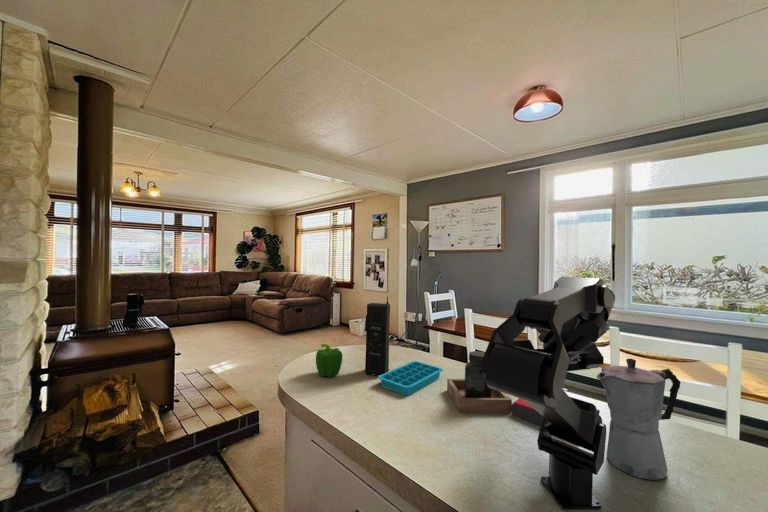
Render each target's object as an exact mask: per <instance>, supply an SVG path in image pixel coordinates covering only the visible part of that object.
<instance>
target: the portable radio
mask: <svg viewBox="0 0 768 512" xmlns="http://www.w3.org/2000/svg"><path fill="white" fill-rule="evenodd" d="M390 313H391V304H390V303H389V296H386V303H380V302H379V303H378V302H370V303H367V304H366V315H365V322H364V323H365V324H364V332H366V336H365V337H366V338H365V359H364V360H365V364H364V374H365V373H367V374H366V375H370V374H374V375H373V376H377V375H382V374H384V373H387V372H389V365H390V359H389V357H390V323H391V320H390V319H391V314H390Z"/></svg>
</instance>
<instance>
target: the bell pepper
mask: <svg viewBox="0 0 768 512" xmlns="http://www.w3.org/2000/svg"><path fill="white" fill-rule="evenodd" d="M320 346H321V348H323V347H325V348H324V349H318V350H317V351H316V354H315V365H316V366H315V367H316V370H317V373H318V375H319V376H320V377H329V378H334V377H336V376H338V374H339V373H340V371H341V367H342V363H343V353H342V351H341V350H340V349H339V348H338V347H334V348H332V347H331V346H330V345H329V344H328V343H322V344H321V345H320Z"/></svg>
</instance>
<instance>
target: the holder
mask: <svg viewBox="0 0 768 512" xmlns="http://www.w3.org/2000/svg"><path fill="white" fill-rule="evenodd" d="M446 381H447V383H446V384H447V385H446V387H447V389H446V391H447V393H448V394H449V396H450V398H451V399H452V402H453V403H454V405H455V407H456V409H457V410H458V412H459V413H460V414H480V413H481V414H512V407H511V405H512V404H513V399H512V398H511V397H510V395H509V394H506V393H503V392H500V391H497V390H494V389H491V398H465V394H464V392H465V391H464V390H465V378H447V380H446Z"/></svg>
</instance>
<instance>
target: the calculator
mask: <svg viewBox="0 0 768 512" xmlns="http://www.w3.org/2000/svg"><path fill="white" fill-rule="evenodd" d="M511 407H512V413H511V416H513V417H514V418H518V419H521V420H522V421H526V422H528V423H530V424H533V425H535V426H539V427H541V422H542V418H543V416H542V415H541V414H540V413H538V412H537V411H536V410H535V409H534V408H533V407H531V406H530V405H529V404H528V403H527V402H525V401H524V400H523V399H520V398H517V399H516V400H515V401H514V402H512V405H511Z"/></svg>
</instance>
